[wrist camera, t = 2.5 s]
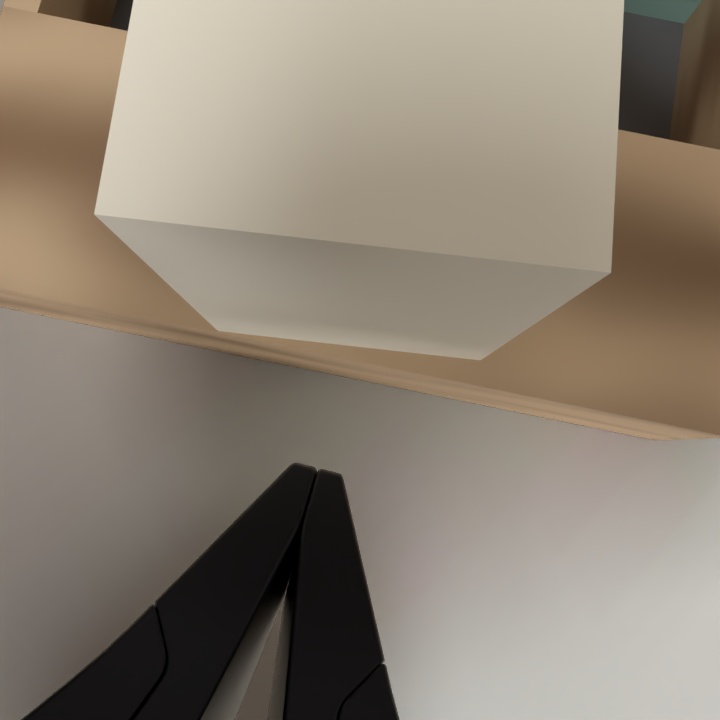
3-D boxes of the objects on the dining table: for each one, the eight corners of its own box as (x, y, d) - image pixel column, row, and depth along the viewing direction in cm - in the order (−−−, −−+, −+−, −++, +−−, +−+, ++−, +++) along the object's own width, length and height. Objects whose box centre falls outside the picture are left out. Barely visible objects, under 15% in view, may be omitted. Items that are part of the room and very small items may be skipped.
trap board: (655, 440, 20) (732, 437, 16) (0, 307, 20) (-84, 271, 16) (729, -150, 23) (808, -273, 19) (171, -260, 23) (136, -405, 20)
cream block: (480, 360, 16) (611, 272, 8) (217, 331, 16) (93, 214, 8) (502, 84, 17) (635, -224, 9) (258, 56, 17) (184, -278, 9)
